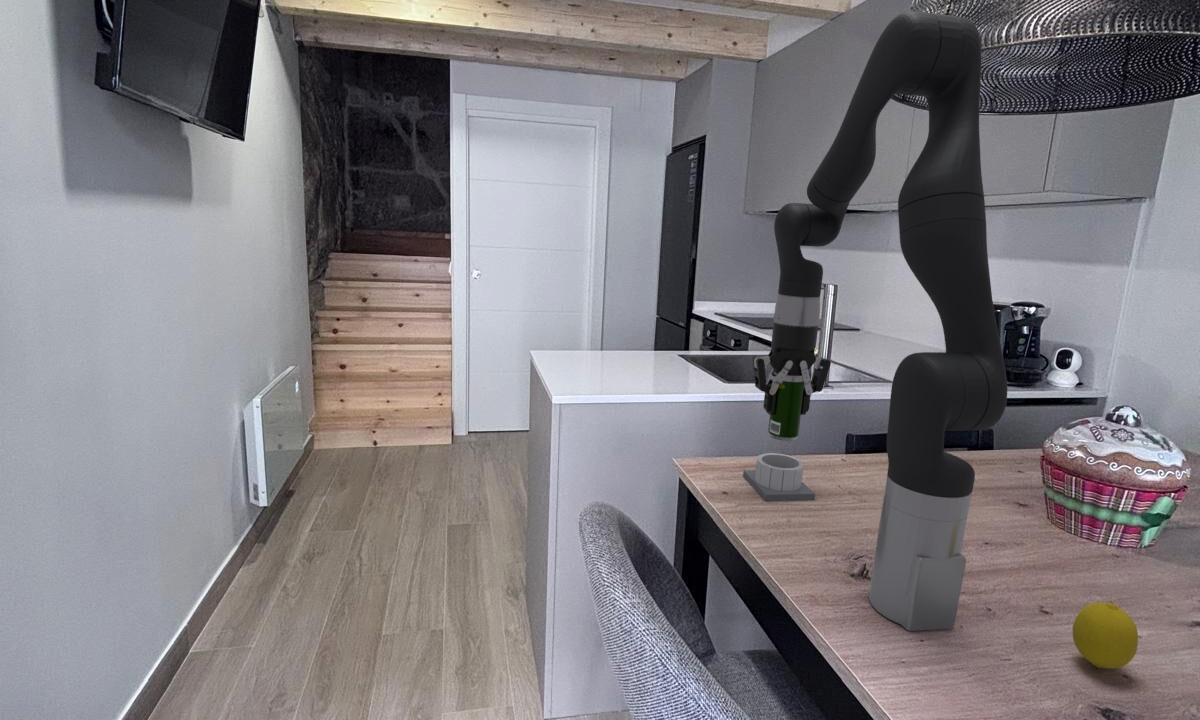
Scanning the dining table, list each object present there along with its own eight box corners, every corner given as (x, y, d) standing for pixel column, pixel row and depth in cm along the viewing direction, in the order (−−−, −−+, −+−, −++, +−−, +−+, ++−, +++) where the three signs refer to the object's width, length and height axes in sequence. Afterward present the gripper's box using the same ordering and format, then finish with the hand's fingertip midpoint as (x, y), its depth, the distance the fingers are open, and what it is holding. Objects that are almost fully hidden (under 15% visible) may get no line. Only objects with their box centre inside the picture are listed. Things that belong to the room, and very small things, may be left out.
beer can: (788, 443, 108) (796, 378, 105) (761, 435, 112) (768, 371, 109) (803, 437, 112) (811, 373, 109) (777, 429, 115) (784, 368, 113)
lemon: (1058, 646, 72) (1071, 585, 70) (1113, 657, 70) (1129, 594, 69) (1079, 677, 67) (1094, 612, 65) (1139, 690, 65) (1157, 624, 64)
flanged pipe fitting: (814, 500, 109) (817, 472, 108) (765, 501, 108) (768, 473, 107) (788, 475, 120) (790, 450, 119) (743, 476, 118) (745, 450, 117)
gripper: (765, 323, 102) (755, 420, 106) (845, 325, 104) (833, 420, 108) (748, 316, 110) (740, 407, 113) (824, 318, 112) (813, 407, 115)
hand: (785, 413), depth 111 cm, fingers closed on beer can, 5 cm apart
